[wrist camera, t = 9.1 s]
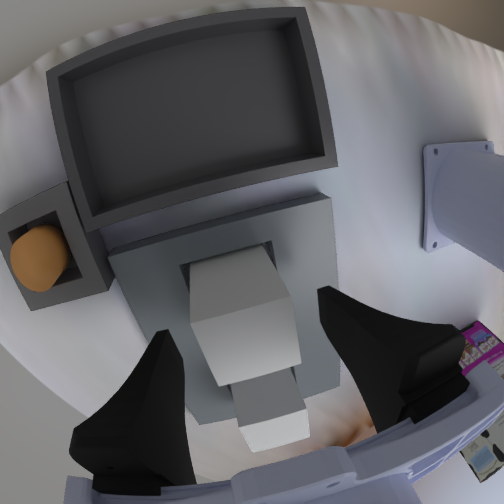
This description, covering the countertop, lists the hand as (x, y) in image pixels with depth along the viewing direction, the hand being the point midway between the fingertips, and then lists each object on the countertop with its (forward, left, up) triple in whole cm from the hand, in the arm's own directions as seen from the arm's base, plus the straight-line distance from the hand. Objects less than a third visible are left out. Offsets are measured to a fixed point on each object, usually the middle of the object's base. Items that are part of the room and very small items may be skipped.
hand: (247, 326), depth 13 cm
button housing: (+10, -5, -4) cm, 12 cm away
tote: (0, -10, -4) cm, 11 cm away
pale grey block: (0, 0, -4) cm, 4 cm away
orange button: (+10, -5, -3) cm, 11 cm away
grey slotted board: (0, +4, -4) cm, 6 cm away
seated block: (0, +8, -4) cm, 9 cm away
